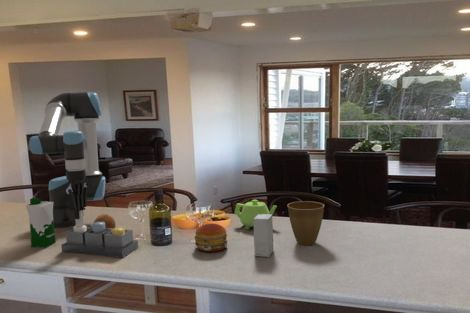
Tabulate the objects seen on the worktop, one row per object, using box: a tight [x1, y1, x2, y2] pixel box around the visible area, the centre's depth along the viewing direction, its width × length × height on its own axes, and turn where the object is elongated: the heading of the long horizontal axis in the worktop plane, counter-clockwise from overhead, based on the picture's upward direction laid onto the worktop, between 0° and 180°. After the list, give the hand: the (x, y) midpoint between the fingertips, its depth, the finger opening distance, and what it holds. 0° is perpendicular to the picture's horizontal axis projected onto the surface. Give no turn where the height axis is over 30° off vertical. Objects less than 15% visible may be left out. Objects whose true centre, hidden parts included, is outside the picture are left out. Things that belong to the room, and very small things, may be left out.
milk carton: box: [25, 197, 57, 248], centre depth 187 cm, size 9×9×20 cm
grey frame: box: [61, 226, 139, 258], centre depth 179 cm, size 12×28×8 cm, turn 73°
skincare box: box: [253, 214, 274, 258], centre depth 170 cm, size 8×6×15 cm
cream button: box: [73, 224, 87, 232], centre depth 182 cm, size 5×5×5 cm
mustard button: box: [112, 227, 126, 235], centre depth 176 cm, size 5×5×5 cm
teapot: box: [234, 199, 278, 230], centre depth 206 cm, size 20×13×13 cm
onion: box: [93, 212, 117, 229], centre depth 198 cm, size 10×10×10 cm
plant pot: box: [287, 200, 325, 246], centre depth 181 cm, size 15×15×16 cm
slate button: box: [91, 222, 105, 233], centre depth 179 cm, size 5×5×5 cm
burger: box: [193, 223, 228, 253], centre depth 178 cm, size 14×14×10 cm
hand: (79, 225), depth 181 cm, fingers closed
